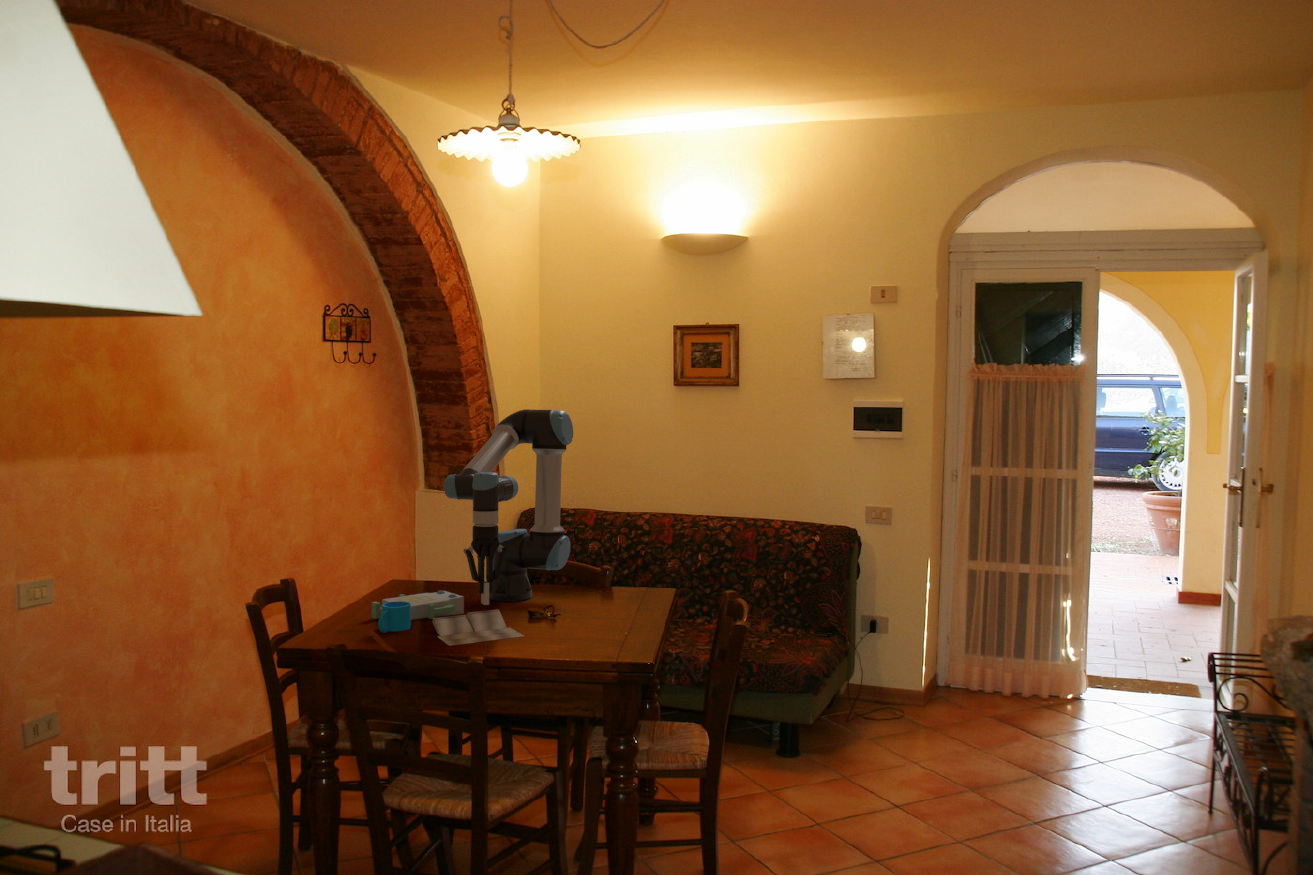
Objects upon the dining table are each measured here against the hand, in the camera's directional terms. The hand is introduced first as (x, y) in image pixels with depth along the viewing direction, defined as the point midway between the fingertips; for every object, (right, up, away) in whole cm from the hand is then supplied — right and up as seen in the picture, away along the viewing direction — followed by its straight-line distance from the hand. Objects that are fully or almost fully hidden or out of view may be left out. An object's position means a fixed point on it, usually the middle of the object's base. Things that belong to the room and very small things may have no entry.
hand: (485, 603), depth 278 cm
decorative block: (-24, -7, +16) cm, 30 cm away
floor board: (+1, -8, -11) cm, 14 cm away
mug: (-26, -8, -5) cm, 28 cm away
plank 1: (-8, -6, -6) cm, 12 cm away
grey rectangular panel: (0, -6, 0) cm, 6 cm away
